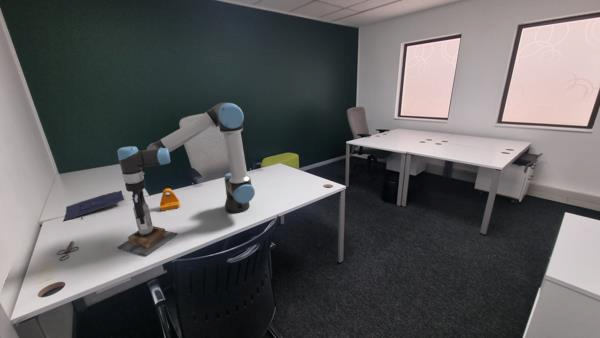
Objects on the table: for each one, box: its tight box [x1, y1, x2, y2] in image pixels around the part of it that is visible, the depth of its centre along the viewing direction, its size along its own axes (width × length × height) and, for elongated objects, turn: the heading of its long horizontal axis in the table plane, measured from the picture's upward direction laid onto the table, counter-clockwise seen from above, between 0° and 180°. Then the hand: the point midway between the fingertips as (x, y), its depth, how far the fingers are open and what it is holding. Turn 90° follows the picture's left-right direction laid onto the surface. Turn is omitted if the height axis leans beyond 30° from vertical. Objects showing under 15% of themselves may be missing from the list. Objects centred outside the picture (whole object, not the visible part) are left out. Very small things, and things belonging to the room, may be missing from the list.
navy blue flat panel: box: [63, 190, 125, 222], centre depth 157 cm, size 24×30×4 cm
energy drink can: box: [132, 201, 154, 235], centre depth 116 cm, size 6×6×15 cm
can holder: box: [117, 225, 178, 257], centre depth 119 cm, size 18×18×5 cm
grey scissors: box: [56, 240, 79, 262], centre depth 114 cm, size 8×18×2 cm, turn 31°
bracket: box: [159, 188, 180, 212], centre depth 153 cm, size 11×7×12 cm, turn 116°
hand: (145, 225), depth 117 cm, fingers closed on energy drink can, 6 cm apart
